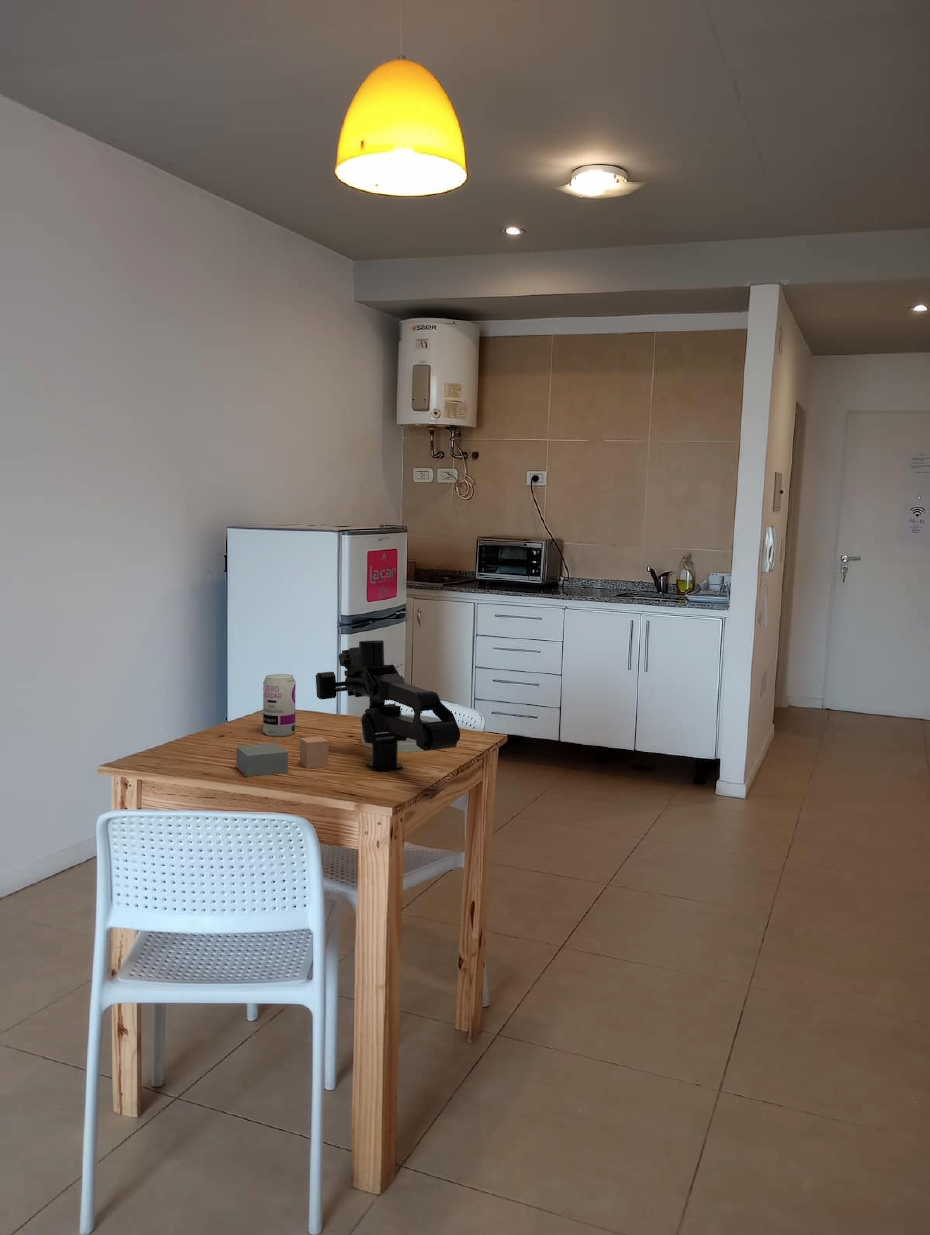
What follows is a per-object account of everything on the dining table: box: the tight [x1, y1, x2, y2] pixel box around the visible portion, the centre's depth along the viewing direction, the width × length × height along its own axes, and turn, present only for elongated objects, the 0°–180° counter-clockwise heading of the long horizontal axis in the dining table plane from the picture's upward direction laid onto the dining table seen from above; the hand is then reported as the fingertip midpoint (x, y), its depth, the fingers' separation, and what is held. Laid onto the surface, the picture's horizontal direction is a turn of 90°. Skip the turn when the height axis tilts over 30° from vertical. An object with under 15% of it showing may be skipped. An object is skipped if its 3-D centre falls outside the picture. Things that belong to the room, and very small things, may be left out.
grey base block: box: [235, 742, 289, 778], centre depth 217 cm, size 9×9×5 cm
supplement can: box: [262, 673, 297, 737], centre depth 253 cm, size 8×8×15 cm
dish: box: [360, 714, 441, 753], centre depth 248 cm, size 22×22×5 cm
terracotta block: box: [299, 735, 329, 770], centre depth 222 cm, size 5×5×6 cm
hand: (340, 680), depth 242 cm, fingers open, 9 cm apart
